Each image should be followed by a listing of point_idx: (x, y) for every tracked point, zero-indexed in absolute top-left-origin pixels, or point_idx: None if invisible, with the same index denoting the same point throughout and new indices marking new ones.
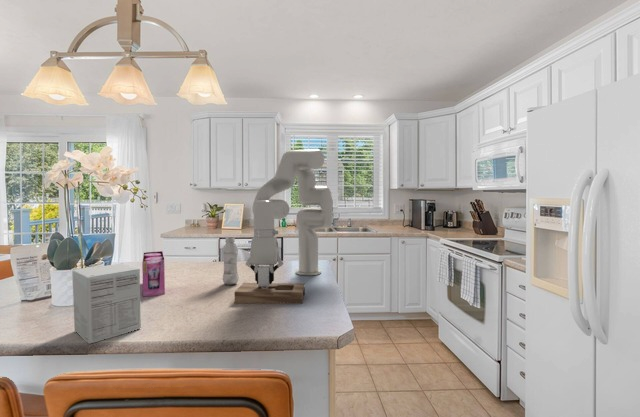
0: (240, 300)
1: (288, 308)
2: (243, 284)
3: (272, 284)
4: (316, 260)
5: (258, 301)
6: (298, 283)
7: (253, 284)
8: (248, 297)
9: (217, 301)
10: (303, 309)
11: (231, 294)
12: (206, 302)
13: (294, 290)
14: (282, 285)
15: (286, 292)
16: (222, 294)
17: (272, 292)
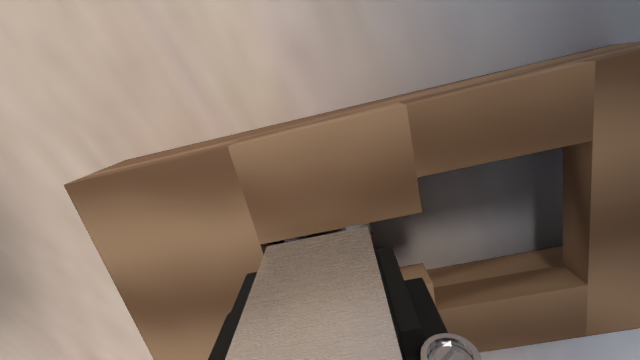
0: None
1: (526, 348)
2: (100, 228)
3: (359, 165)
4: None
5: None
6: (638, 53)
7: (184, 209)
8: None
9: (97, 333)
10: (613, 346)
11: (69, 205)
12: (58, 356)
13: (609, 291)
14: (466, 166)
15: (545, 341)
16: (16, 219)
17: None
